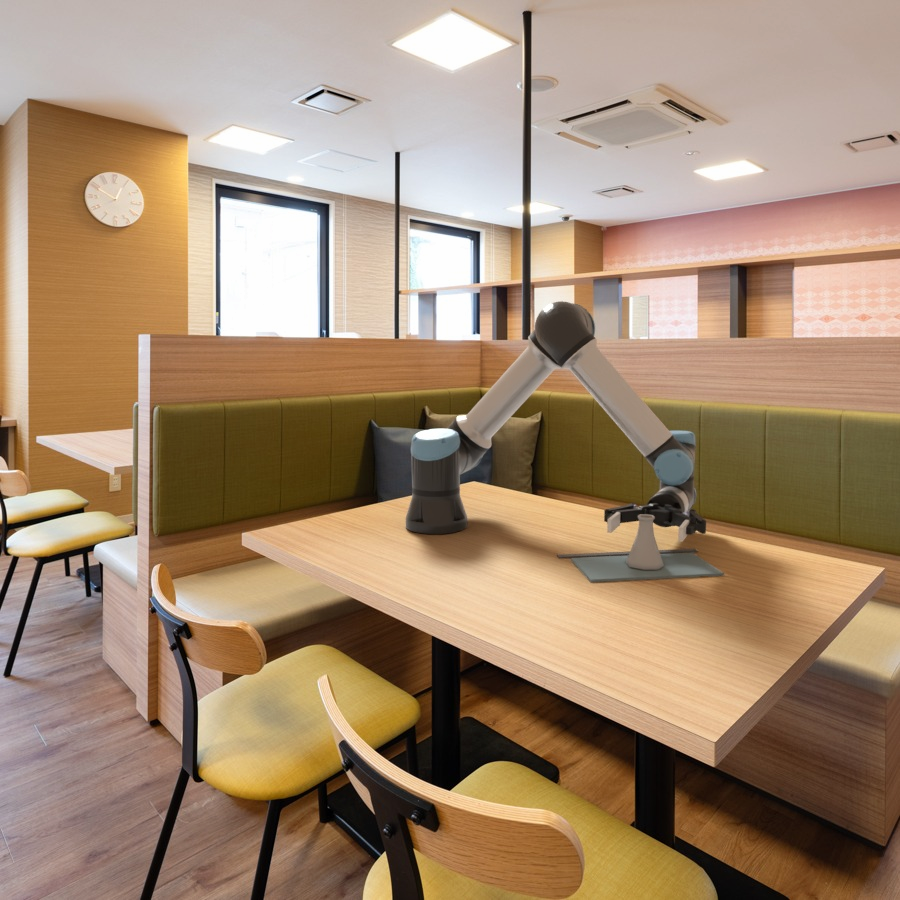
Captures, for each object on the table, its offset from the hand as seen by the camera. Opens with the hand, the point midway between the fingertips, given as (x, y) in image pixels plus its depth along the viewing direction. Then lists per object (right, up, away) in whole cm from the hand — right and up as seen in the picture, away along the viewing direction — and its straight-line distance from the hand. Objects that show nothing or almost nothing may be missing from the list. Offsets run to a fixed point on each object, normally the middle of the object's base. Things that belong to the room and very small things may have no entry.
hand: (643, 530), depth 130 cm
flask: (+1, -7, +3) cm, 8 cm away
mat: (+1, -8, +3) cm, 8 cm away
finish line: (0, -6, +12) cm, 13 cm away
